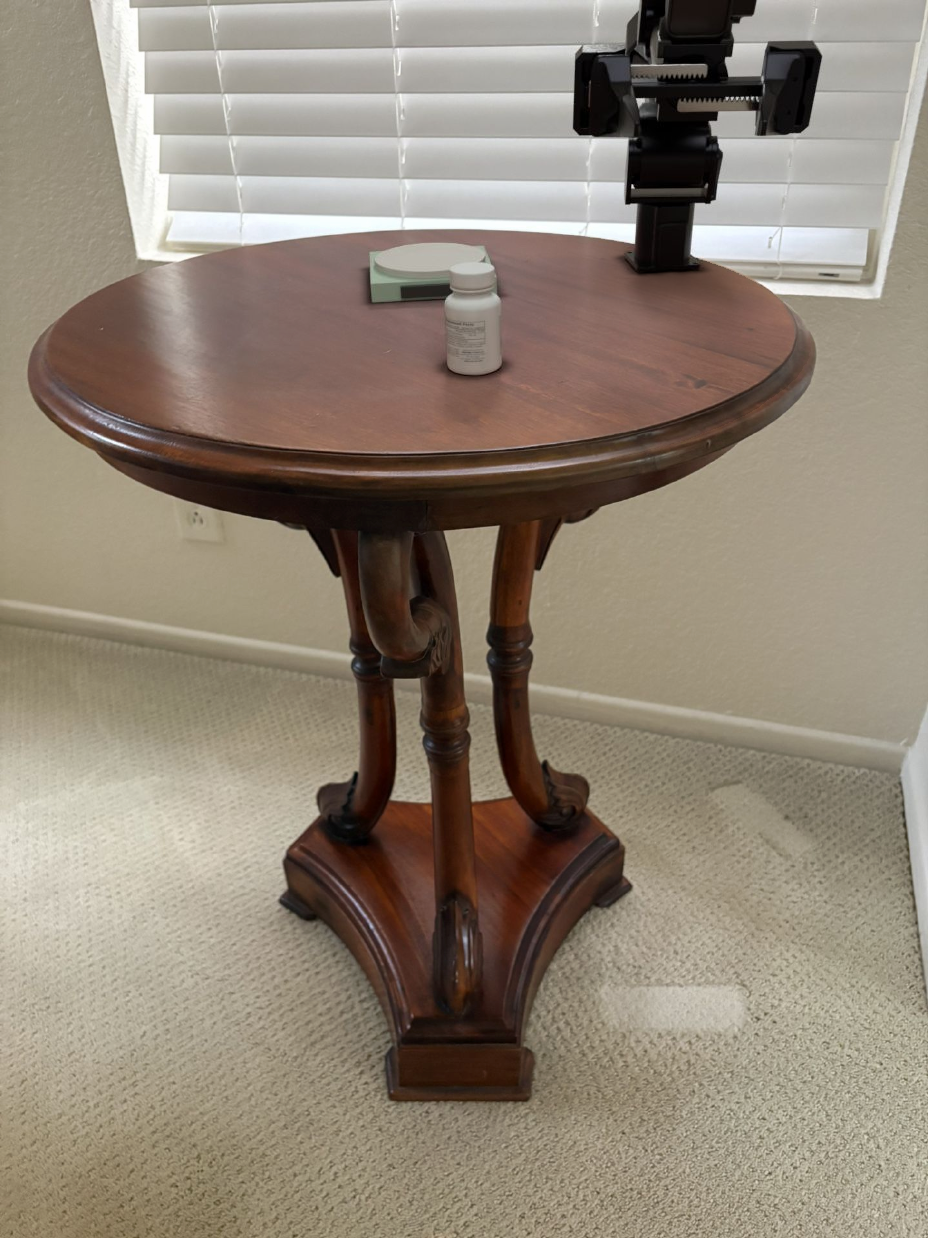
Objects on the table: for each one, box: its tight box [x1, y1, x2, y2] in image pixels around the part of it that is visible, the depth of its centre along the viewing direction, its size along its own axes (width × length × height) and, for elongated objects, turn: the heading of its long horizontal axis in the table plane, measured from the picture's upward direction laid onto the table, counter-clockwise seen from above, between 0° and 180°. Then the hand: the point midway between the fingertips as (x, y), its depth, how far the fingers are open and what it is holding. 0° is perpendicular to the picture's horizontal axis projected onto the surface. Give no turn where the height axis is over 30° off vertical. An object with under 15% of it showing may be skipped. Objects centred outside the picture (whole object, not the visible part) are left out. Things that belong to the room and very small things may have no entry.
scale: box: [369, 242, 498, 303], centre depth 100 cm, size 12×12×2 cm
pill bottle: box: [444, 262, 503, 376], centre depth 78 cm, size 4×4×8 cm
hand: (700, 129), depth 74 cm, fingers open, 9 cm apart
